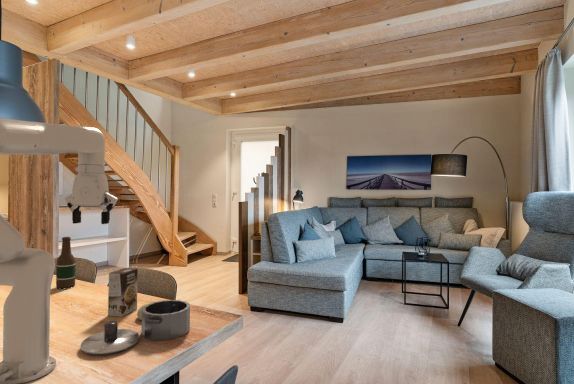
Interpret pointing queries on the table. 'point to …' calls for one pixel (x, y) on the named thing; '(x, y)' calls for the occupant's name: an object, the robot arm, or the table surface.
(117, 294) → the coffee box
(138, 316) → the sea urchin shell
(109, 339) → the lid
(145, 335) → the pot
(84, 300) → the table surface
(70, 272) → the beer bottle
